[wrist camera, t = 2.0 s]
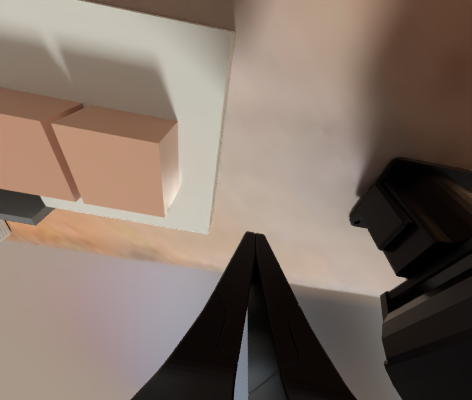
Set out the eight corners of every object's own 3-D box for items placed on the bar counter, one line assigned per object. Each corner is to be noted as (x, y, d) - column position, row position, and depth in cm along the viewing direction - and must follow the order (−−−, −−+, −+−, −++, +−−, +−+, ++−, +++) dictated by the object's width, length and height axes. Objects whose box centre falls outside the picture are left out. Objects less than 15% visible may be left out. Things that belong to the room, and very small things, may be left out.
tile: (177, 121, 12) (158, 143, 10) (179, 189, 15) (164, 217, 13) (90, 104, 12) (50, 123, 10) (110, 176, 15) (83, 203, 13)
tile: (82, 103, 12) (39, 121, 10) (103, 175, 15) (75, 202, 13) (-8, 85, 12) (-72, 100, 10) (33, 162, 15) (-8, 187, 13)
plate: (235, 31, 11) (231, 32, 9) (212, 218, 20) (208, 234, 18) (-42, -27, 10) (-94, -36, 9) (62, 192, 19) (45, 206, 18)
